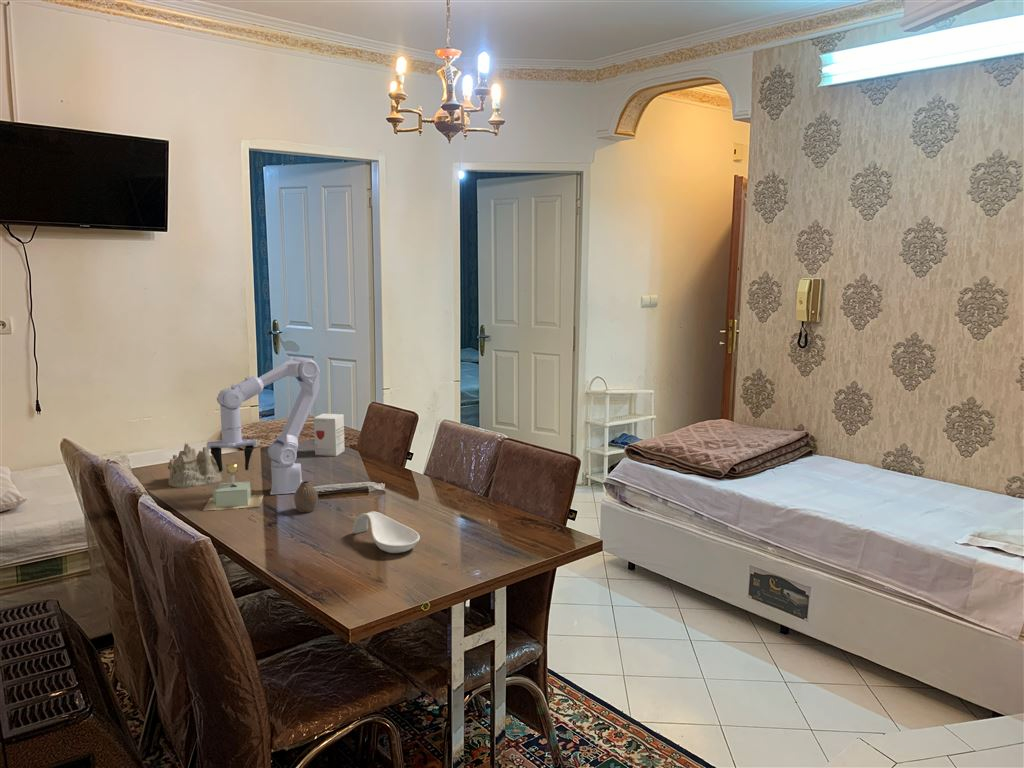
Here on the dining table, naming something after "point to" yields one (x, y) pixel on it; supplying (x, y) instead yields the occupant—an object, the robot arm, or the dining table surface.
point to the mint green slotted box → (232, 494)
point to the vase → (305, 497)
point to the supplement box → (329, 434)
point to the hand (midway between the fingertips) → (233, 470)
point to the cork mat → (254, 502)
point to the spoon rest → (387, 532)
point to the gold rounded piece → (232, 471)
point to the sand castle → (193, 468)
